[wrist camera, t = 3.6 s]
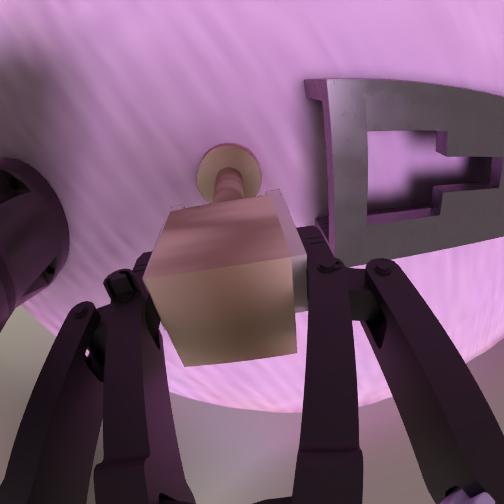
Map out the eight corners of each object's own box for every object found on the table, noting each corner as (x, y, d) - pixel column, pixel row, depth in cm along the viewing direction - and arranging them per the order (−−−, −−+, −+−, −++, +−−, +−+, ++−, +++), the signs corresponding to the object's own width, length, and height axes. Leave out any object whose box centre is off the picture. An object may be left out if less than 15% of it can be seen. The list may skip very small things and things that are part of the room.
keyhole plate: (315, 232, 28) (334, 269, 23) (303, 79, 21) (326, 79, 15) (502, 206, 28) (532, 229, 22) (513, 98, 20) (550, 110, 15)
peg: (205, 204, 26) (180, 370, 11) (193, 149, 23) (134, 273, 9) (262, 194, 26) (303, 355, 11) (254, 138, 23) (298, 248, 9)
